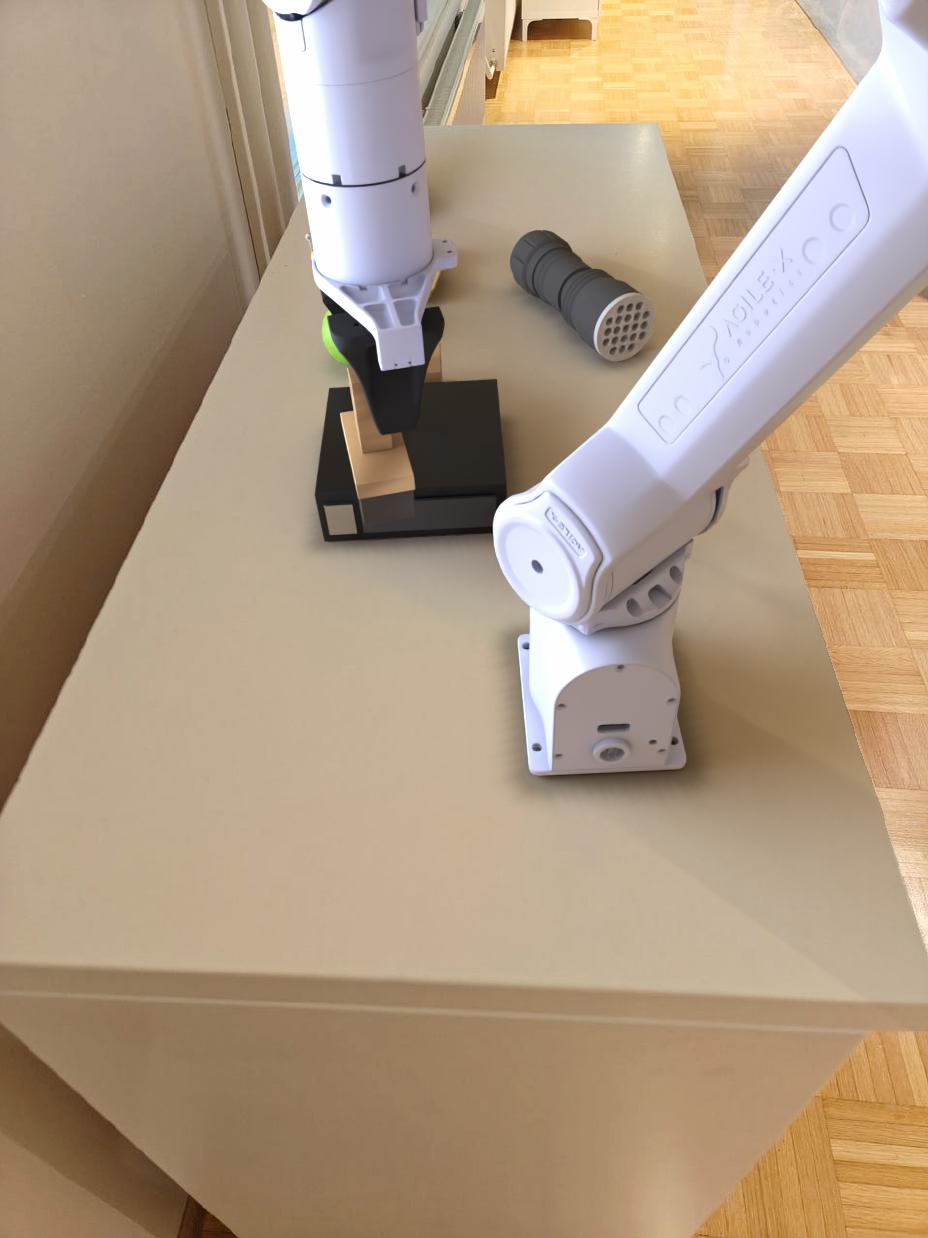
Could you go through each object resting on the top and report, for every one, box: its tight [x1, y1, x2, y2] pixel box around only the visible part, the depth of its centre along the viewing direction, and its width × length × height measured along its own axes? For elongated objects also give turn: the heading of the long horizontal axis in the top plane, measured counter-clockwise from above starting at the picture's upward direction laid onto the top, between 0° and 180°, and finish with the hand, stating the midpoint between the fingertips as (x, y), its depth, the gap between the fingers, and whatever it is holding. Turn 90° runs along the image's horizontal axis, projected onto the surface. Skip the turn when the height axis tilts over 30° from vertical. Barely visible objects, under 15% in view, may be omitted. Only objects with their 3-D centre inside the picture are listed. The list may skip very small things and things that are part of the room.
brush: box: [340, 366, 416, 525], centre depth 52 cm, size 3×7×8 cm, turn 12°
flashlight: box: [509, 229, 657, 362], centre depth 76 cm, size 15×5×5 cm, turn 26°
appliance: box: [314, 378, 508, 542], centre depth 62 cm, size 12×12×4 cm
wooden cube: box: [424, 342, 444, 383], centre depth 69 cm, size 4×4×4 cm
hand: (394, 417), depth 51 cm, fingers closed on brush, 2 cm apart
